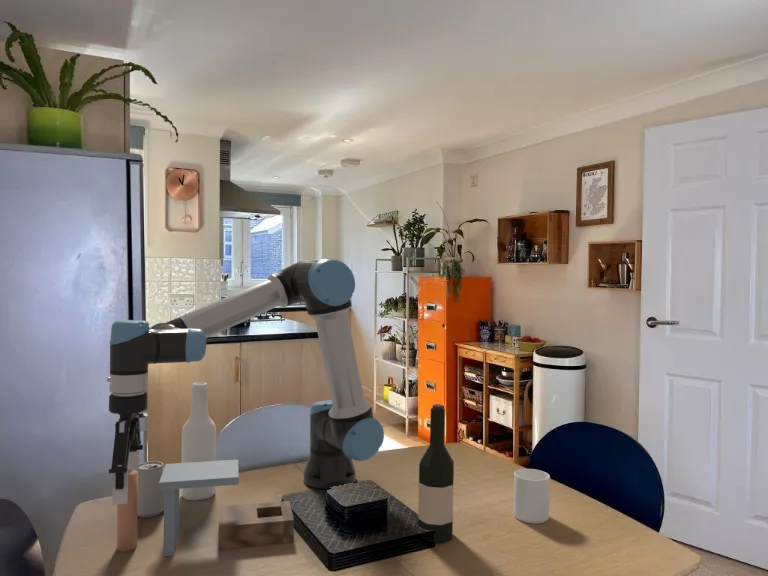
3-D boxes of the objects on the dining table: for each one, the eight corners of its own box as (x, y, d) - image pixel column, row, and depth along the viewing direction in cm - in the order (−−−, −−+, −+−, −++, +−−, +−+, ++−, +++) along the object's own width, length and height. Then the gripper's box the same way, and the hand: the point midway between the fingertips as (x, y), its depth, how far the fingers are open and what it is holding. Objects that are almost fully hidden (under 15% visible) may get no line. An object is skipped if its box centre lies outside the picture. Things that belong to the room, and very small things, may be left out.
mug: (534, 504, 150) (535, 463, 150) (555, 523, 138) (556, 479, 138) (503, 505, 148) (504, 464, 148) (521, 525, 136) (522, 481, 136)
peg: (138, 542, 125) (139, 469, 124) (135, 550, 121) (136, 475, 120) (118, 543, 124) (119, 470, 123) (115, 552, 120) (115, 477, 119)
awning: (237, 525, 134) (238, 459, 134) (237, 549, 122) (238, 477, 122) (165, 531, 130) (165, 463, 129) (158, 557, 118) (159, 482, 118)
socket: (288, 521, 136) (289, 500, 136) (293, 542, 126) (293, 519, 126) (219, 527, 132) (219, 506, 132) (218, 549, 122) (218, 526, 122)
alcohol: (222, 493, 153) (224, 382, 153) (197, 504, 146) (199, 387, 145) (199, 486, 158) (200, 379, 157) (173, 497, 150) (174, 384, 149)
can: (153, 520, 136) (154, 470, 135) (126, 517, 137) (126, 467, 137) (171, 508, 143) (172, 460, 143) (145, 505, 144) (145, 458, 144)
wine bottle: (443, 547, 125) (446, 411, 124) (410, 537, 129) (413, 406, 129) (459, 533, 132) (462, 404, 131) (427, 524, 136) (430, 399, 136)
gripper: (120, 382, 133) (118, 472, 133) (95, 405, 109) (92, 516, 109) (155, 381, 135) (153, 471, 135) (137, 404, 110) (135, 513, 111)
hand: (126, 491), depth 122 cm, fingers open, 13 cm apart
